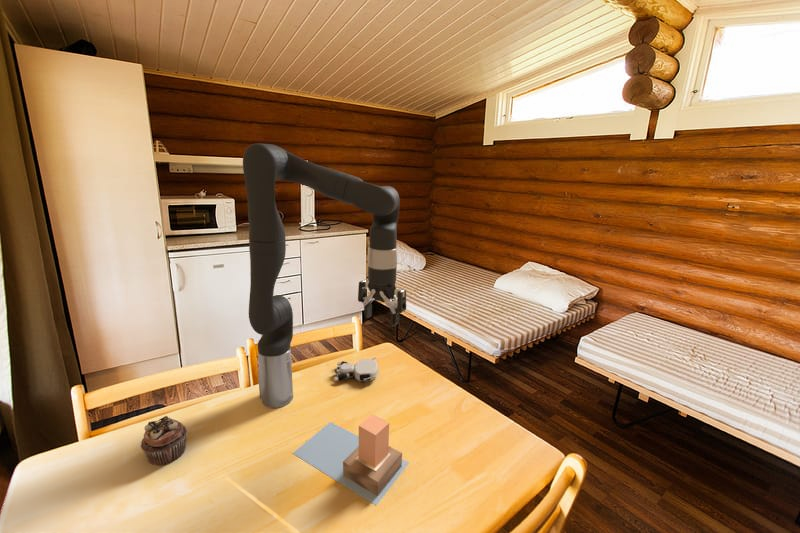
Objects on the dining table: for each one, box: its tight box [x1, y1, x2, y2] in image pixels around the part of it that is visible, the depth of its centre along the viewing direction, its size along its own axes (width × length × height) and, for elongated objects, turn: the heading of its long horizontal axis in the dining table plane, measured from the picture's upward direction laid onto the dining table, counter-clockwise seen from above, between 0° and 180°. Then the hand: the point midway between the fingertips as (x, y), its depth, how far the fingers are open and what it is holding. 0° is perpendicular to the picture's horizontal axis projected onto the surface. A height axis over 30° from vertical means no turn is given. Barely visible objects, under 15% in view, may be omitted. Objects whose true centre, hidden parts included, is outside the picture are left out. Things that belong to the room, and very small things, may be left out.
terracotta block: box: [358, 413, 390, 468], centre depth 85 cm, size 5×5×9 cm
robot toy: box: [333, 357, 379, 382], centre depth 126 cm, size 12×4×15 cm
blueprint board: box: [292, 421, 410, 506], centre depth 90 cm, size 26×14×1 cm, turn 58°
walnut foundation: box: [343, 446, 403, 496], centre depth 86 cm, size 10×10×4 cm
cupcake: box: [140, 415, 188, 467], centre depth 89 cm, size 10×10×10 cm
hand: (381, 321), depth 99 cm, fingers open, 8 cm apart
